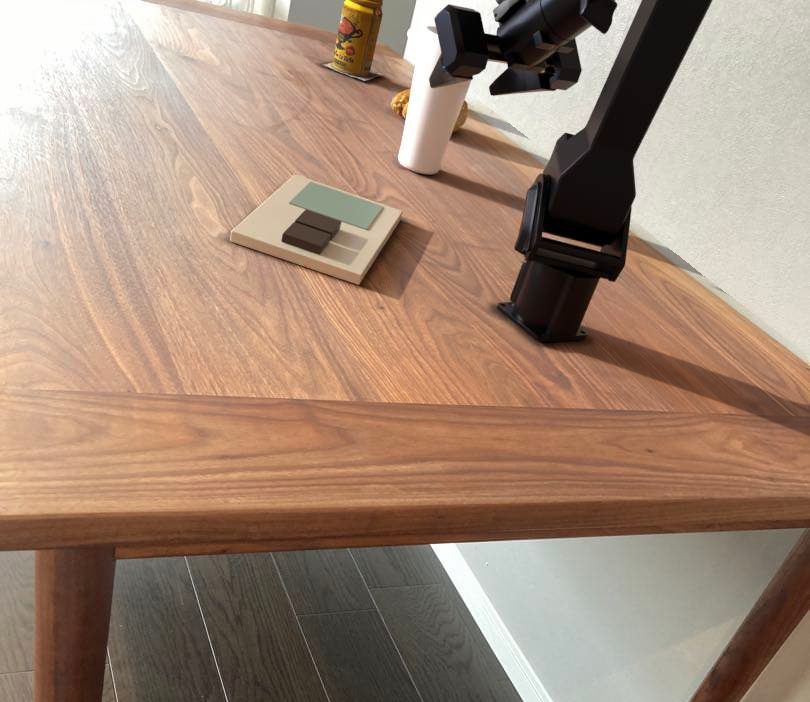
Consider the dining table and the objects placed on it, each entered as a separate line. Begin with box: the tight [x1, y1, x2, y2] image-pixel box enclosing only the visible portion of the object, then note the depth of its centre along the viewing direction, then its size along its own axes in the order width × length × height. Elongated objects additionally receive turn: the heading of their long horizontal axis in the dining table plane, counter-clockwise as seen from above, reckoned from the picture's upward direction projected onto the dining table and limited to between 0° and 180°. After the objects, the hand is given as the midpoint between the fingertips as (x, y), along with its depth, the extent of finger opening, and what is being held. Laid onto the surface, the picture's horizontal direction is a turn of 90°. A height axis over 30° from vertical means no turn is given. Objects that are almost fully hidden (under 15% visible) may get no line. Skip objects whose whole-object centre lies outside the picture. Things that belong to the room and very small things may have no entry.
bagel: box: [390, 87, 469, 133], centre depth 130 cm, size 10×11×5 cm
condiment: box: [321, 0, 384, 82], centre depth 141 cm, size 7×8×12 cm
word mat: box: [229, 173, 404, 286], centre depth 88 cm, size 20×12×2 cm, turn 169°
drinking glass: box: [397, 25, 472, 176], centre depth 109 cm, size 7×7×15 cm
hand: (461, 87), depth 105 cm, fingers open, 9 cm apart
